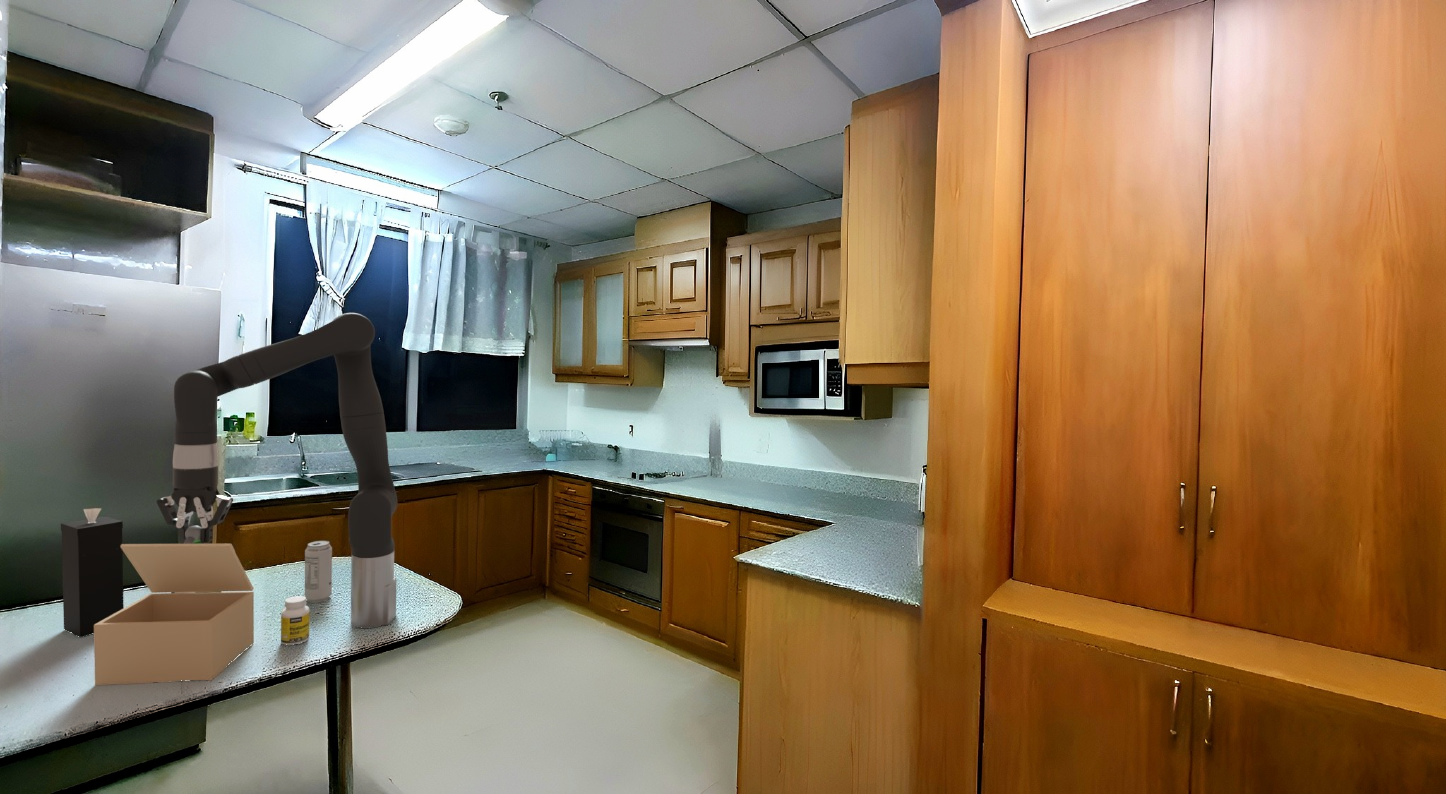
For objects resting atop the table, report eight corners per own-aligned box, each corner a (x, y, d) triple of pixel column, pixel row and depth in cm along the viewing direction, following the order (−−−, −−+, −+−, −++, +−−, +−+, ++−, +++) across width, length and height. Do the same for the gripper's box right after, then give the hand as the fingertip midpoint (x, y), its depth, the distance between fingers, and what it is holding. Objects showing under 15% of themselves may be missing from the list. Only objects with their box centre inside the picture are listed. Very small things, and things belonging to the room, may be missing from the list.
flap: (252, 590, 144) (266, 563, 150) (229, 545, 134) (244, 518, 140) (151, 592, 141) (169, 564, 146) (120, 546, 131) (140, 518, 136)
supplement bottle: (288, 648, 144) (288, 605, 143) (276, 641, 147) (276, 599, 146) (314, 639, 148) (314, 598, 148) (302, 633, 151) (302, 592, 151)
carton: (253, 643, 145) (253, 591, 144) (211, 680, 129) (211, 621, 129) (151, 647, 141) (150, 593, 141) (95, 684, 126) (93, 624, 125)
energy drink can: (336, 598, 172) (336, 543, 171) (311, 605, 167) (312, 548, 166) (324, 592, 175) (324, 538, 174) (300, 599, 170) (300, 543, 169)
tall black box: (124, 625, 151) (122, 507, 149) (79, 638, 144) (77, 514, 142) (107, 618, 154) (105, 502, 152) (62, 630, 147) (60, 508, 145)
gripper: (242, 462, 143) (241, 539, 144) (169, 460, 141) (169, 539, 142) (223, 468, 136) (222, 549, 137) (145, 466, 133) (145, 549, 134)
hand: (195, 543), depth 139 cm, fingers closed on flap, 3 cm apart
